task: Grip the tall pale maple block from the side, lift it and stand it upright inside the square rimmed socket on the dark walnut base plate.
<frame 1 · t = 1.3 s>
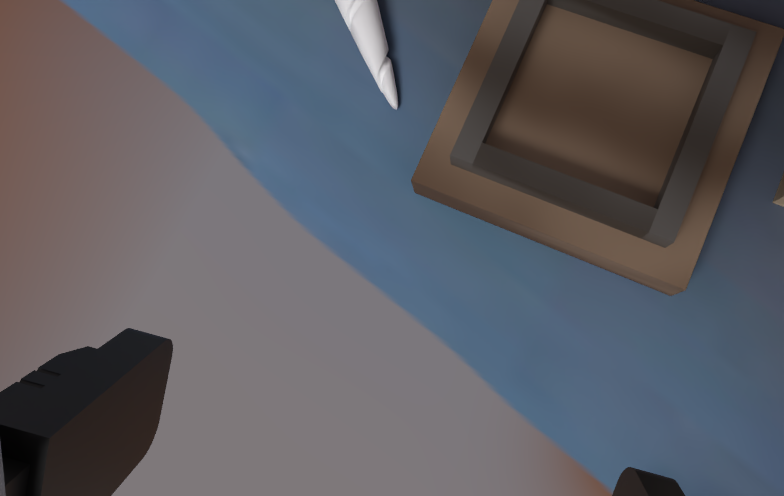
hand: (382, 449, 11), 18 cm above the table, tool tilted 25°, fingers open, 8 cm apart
walnut base: (588, 123, 30), on the table
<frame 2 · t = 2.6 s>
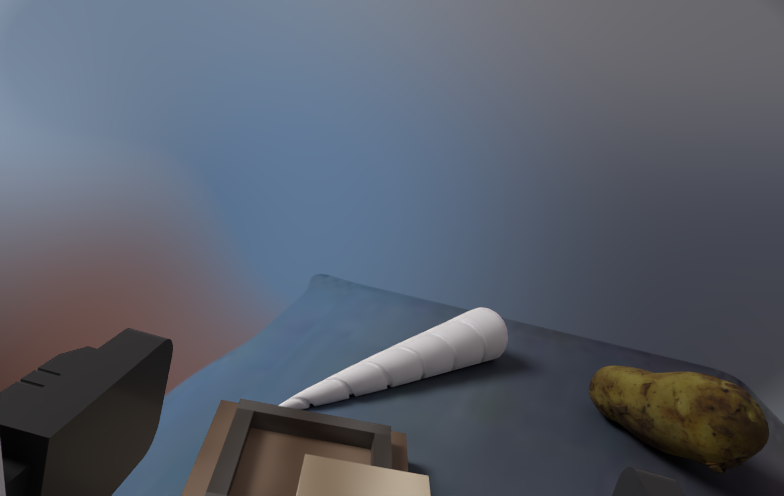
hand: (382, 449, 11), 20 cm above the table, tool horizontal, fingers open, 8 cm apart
unicorn horn: (403, 383, 54), on the table
potato: (654, 452, 52), on the table
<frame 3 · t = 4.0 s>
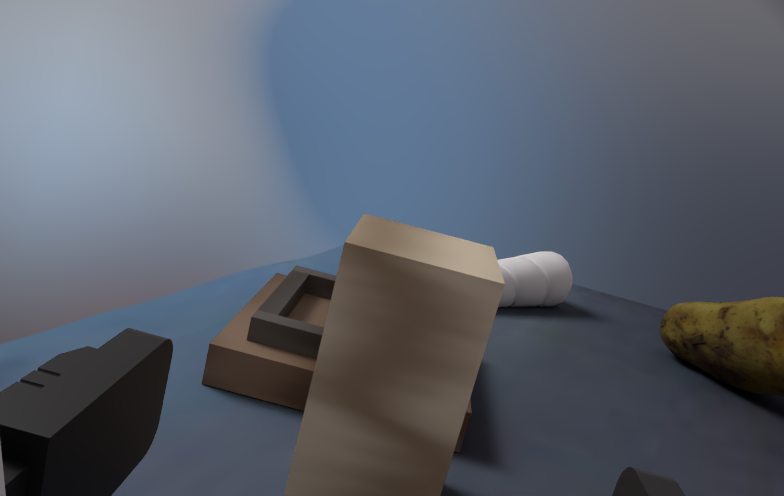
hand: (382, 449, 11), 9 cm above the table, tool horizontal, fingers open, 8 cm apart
unicorn horn: (461, 310, 51), on the table
potato: (733, 392, 48), on the table
walnut base: (349, 365, 35), on the table
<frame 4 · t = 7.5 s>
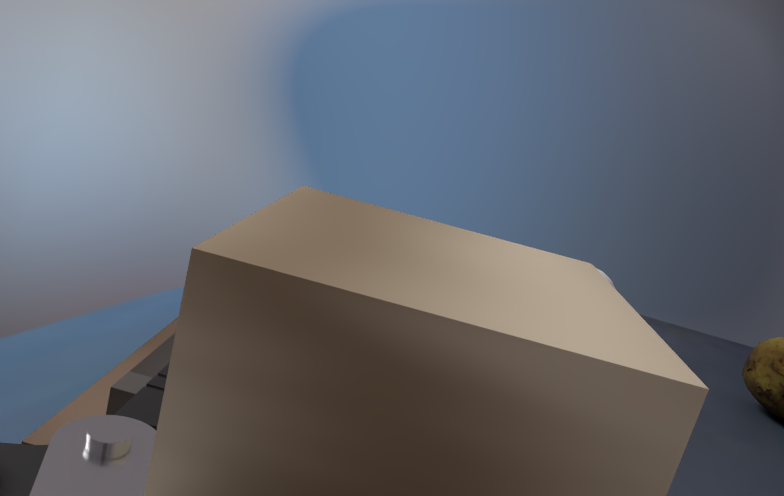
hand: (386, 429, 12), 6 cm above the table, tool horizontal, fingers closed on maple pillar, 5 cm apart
walnut base: (303, 452, 22), on the table
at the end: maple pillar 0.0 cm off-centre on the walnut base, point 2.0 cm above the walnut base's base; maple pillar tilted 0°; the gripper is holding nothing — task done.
